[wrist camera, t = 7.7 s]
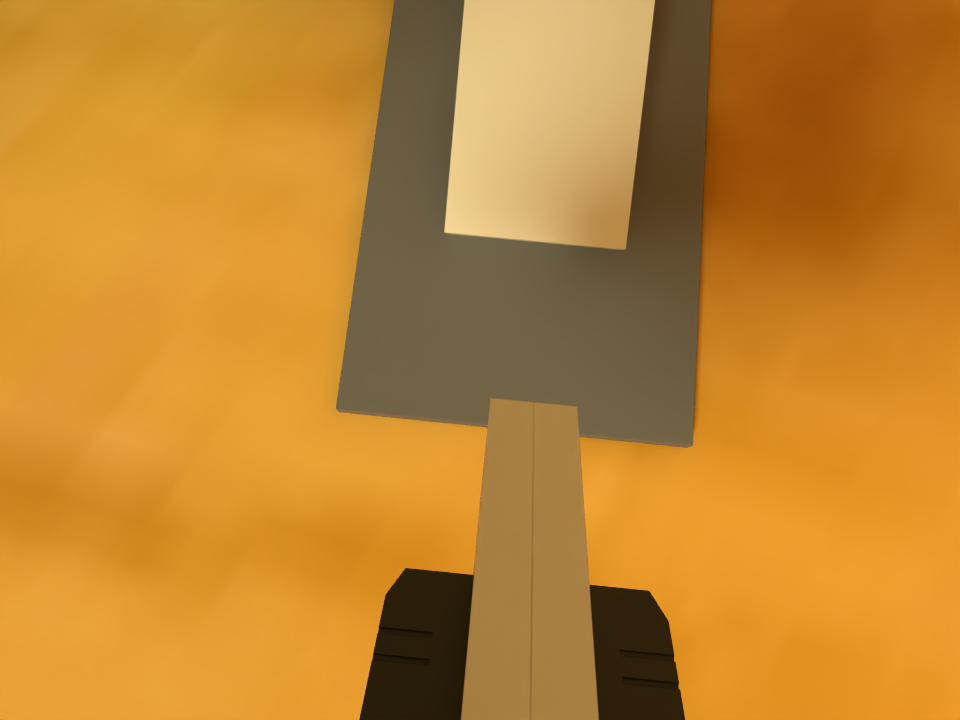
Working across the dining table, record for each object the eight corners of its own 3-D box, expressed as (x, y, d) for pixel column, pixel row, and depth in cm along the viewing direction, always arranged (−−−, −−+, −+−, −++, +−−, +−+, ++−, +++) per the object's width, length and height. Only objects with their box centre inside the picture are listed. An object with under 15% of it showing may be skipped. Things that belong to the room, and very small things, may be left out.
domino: (625, 249, 22) (671, -141, 21) (443, 232, 22) (478, -158, 21) (617, 249, 24) (659, -114, 22) (448, 233, 24) (480, -129, 22)
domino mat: (687, 447, 23) (692, 445, 22) (339, 411, 23) (336, 408, 22) (714, -183, 28) (719, -199, 27) (428, -209, 28) (426, -226, 27)
